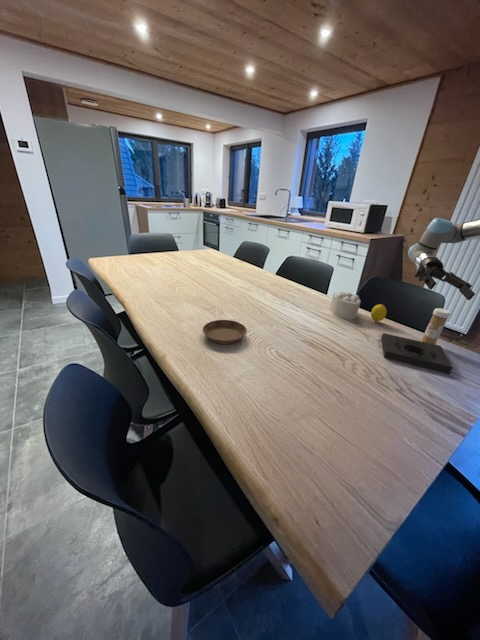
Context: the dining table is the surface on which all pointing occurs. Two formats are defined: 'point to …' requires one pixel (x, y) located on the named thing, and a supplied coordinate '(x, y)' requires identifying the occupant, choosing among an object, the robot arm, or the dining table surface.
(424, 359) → the dock pad
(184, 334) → the dining table surface
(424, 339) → the sprinkles bottle
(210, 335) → the saucer
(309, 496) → the dining table surface
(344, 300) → the lumpy-topped squat cylinder
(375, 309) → the lemon
